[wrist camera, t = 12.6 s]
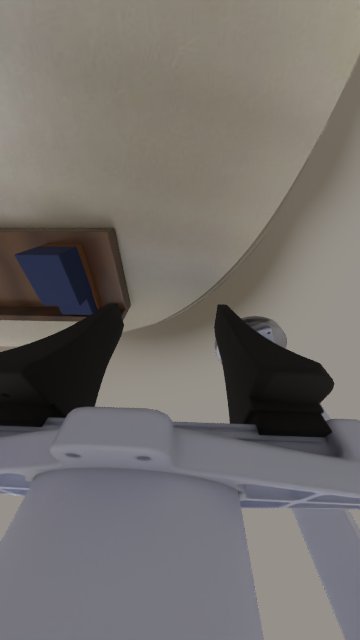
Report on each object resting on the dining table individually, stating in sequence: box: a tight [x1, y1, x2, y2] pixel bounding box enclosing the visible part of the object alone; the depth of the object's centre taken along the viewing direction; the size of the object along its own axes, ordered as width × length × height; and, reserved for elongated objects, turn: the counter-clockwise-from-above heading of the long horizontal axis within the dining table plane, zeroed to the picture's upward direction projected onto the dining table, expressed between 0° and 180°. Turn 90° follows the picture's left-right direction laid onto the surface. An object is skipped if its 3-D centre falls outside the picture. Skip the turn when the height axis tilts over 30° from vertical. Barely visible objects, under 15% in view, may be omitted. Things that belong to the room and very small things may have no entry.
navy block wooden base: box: [14, 244, 102, 315], centre depth 18 cm, size 8×4×4 cm, turn 0°
